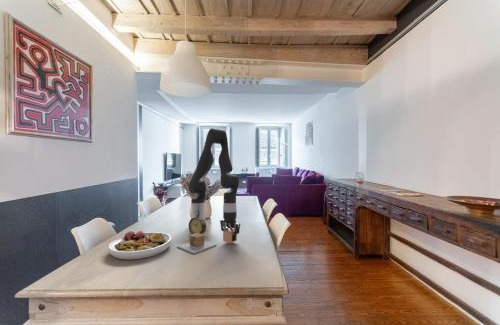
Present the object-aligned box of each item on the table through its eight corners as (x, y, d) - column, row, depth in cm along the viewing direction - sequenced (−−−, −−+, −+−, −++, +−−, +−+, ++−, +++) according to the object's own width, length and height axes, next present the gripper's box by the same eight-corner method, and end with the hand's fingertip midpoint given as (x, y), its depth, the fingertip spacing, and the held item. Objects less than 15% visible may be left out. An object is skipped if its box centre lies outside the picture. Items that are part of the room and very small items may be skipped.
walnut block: (189, 245, 131) (189, 235, 131) (197, 242, 135) (197, 232, 135) (196, 247, 127) (196, 237, 127) (204, 244, 132) (204, 234, 132)
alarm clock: (188, 236, 148) (187, 210, 148) (194, 234, 153) (193, 208, 153) (202, 239, 143) (201, 212, 143) (207, 236, 148) (207, 210, 148)
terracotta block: (223, 241, 136) (223, 231, 136) (229, 238, 140) (229, 229, 140) (230, 243, 132) (230, 233, 132) (236, 240, 137) (236, 231, 136)
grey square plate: (177, 247, 130) (177, 245, 130) (199, 240, 142) (199, 238, 142) (194, 254, 121) (194, 252, 121) (216, 245, 132) (216, 244, 132)
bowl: (182, 247, 132) (182, 232, 132) (129, 268, 107) (128, 250, 107) (150, 237, 149) (150, 224, 148) (97, 253, 124) (97, 238, 124)
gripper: (243, 210, 134) (243, 240, 134) (225, 207, 143) (225, 235, 144) (234, 213, 128) (234, 244, 129) (216, 209, 137) (216, 238, 138)
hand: (230, 239), depth 136 cm, fingers closed on terracotta block, 5 cm apart
